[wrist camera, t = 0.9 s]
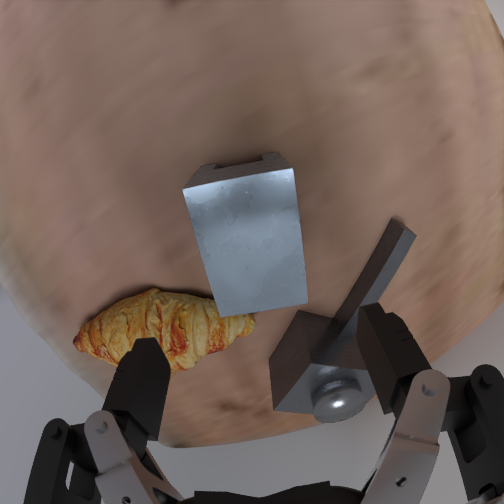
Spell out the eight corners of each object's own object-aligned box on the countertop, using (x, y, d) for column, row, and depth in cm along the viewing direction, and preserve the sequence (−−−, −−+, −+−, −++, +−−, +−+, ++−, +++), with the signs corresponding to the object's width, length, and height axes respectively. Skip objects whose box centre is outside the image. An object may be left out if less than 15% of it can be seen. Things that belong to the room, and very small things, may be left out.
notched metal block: (200, 166, 21) (182, 189, 15) (277, 151, 21) (292, 168, 14) (225, 265, 25) (220, 317, 19) (292, 253, 25) (308, 303, 19)
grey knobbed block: (355, 201, 23) (407, 250, 15) (431, 238, 24) (483, 287, 16) (268, 360, 31) (274, 426, 23) (339, 371, 33) (357, 429, 25)
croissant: (246, 266, 29) (239, 272, 21) (266, 357, 29) (266, 390, 21) (83, 300, 30) (41, 310, 22) (104, 374, 30) (70, 399, 22)
